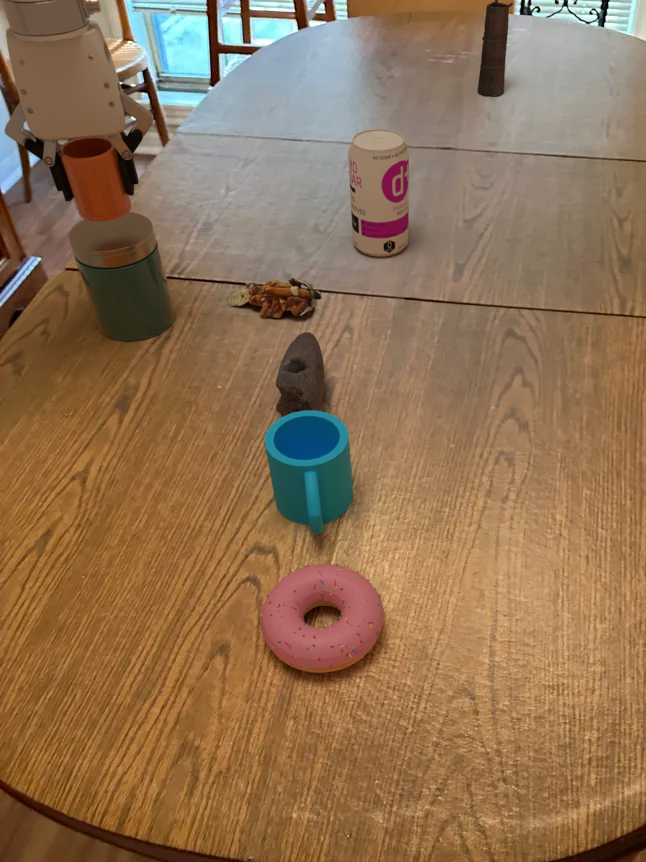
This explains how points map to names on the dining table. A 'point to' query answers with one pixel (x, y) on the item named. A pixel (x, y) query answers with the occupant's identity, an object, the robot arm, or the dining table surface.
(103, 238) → the jar lid
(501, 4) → the butter churn
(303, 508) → the mug
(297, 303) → the brown lumpy piece
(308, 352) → the perforated stone tool
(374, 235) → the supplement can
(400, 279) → the dining table surface
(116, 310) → the jar
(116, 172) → the cup
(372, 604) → the doughnut
